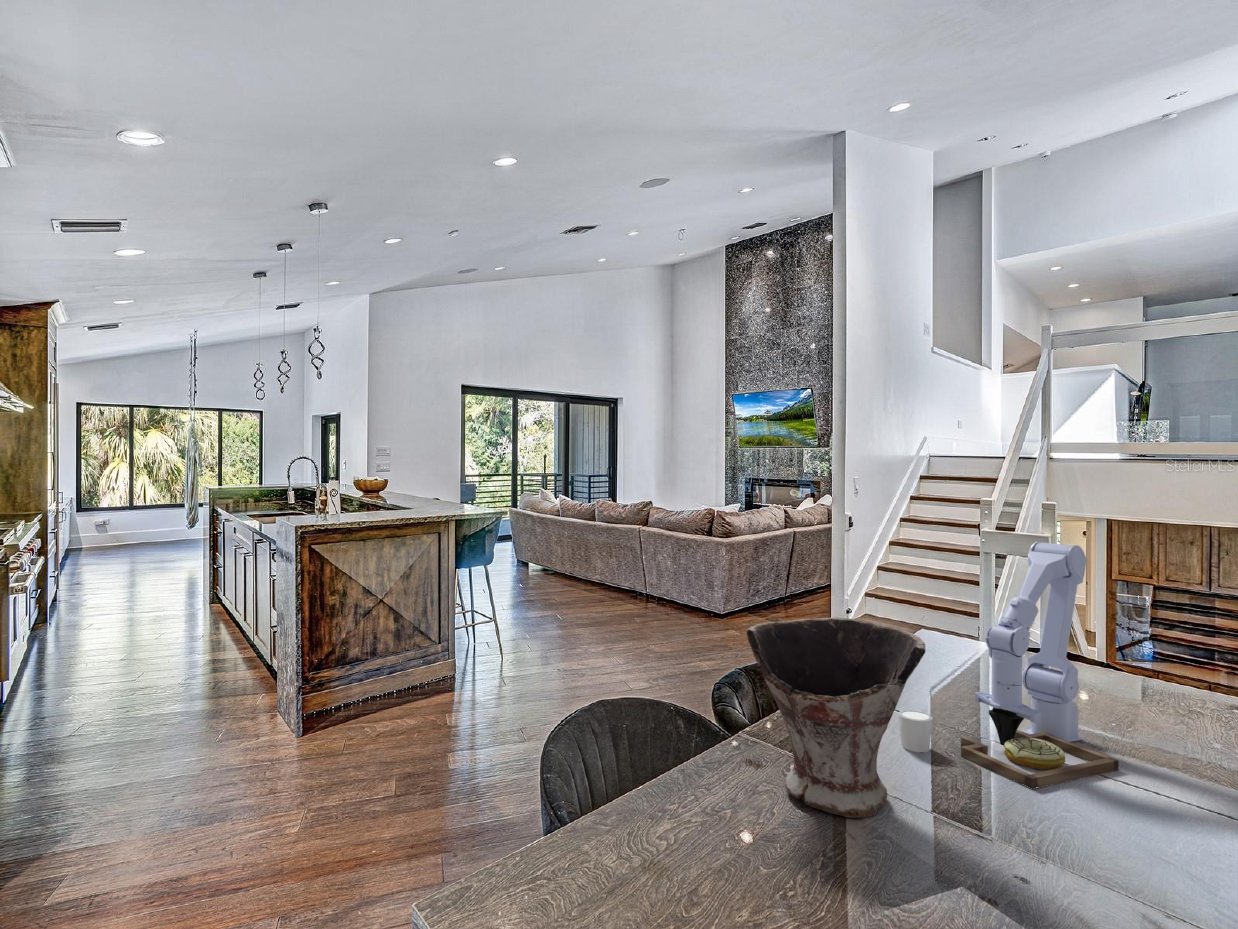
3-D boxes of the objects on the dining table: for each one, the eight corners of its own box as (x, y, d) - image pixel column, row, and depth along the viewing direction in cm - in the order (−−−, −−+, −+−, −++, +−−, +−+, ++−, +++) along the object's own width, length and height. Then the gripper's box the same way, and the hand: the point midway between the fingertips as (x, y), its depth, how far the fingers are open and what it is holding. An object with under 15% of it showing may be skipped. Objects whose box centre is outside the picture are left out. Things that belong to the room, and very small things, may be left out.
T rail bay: (945, 749, 146) (945, 739, 146) (1026, 734, 156) (1026, 725, 156) (1032, 789, 128) (1032, 778, 128) (1118, 770, 137) (1118, 760, 137)
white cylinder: (936, 755, 143) (936, 722, 143) (901, 752, 144) (902, 719, 144) (928, 743, 150) (928, 711, 150) (895, 740, 151) (895, 708, 151)
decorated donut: (998, 749, 147) (998, 731, 147) (1054, 755, 144) (1054, 737, 144) (1012, 768, 137) (1012, 749, 137) (1072, 775, 134) (1072, 756, 134)
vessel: (728, 771, 134) (730, 618, 134) (835, 751, 144) (837, 610, 145) (830, 847, 106) (833, 656, 107) (954, 816, 117) (955, 642, 117)
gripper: (964, 674, 152) (964, 735, 152) (1024, 694, 139) (1024, 760, 138) (987, 671, 155) (987, 731, 154) (1048, 690, 141) (1048, 756, 141)
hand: (1006, 745), depth 147 cm, fingers closed
